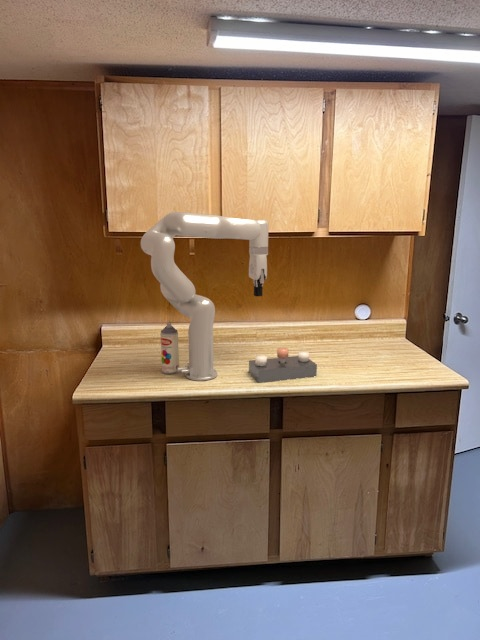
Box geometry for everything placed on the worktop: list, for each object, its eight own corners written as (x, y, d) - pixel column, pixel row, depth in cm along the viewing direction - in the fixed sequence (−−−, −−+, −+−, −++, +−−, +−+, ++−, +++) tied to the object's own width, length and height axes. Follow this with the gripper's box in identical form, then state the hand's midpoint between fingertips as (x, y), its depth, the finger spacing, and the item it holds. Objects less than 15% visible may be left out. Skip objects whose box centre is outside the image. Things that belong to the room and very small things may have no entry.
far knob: (300, 374, 183) (300, 354, 182) (295, 370, 188) (296, 351, 186) (310, 373, 185) (311, 354, 183) (305, 369, 189) (306, 350, 187)
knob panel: (258, 382, 175) (258, 370, 173) (248, 372, 186) (248, 360, 185) (316, 376, 181) (316, 364, 180) (303, 366, 193) (304, 355, 191)
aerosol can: (158, 372, 185) (156, 324, 181) (169, 367, 191) (167, 320, 186) (172, 375, 182) (170, 326, 177) (182, 370, 188) (181, 322, 183)
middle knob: (279, 370, 180) (279, 351, 178) (275, 367, 184) (275, 348, 183) (289, 369, 182) (290, 350, 180) (285, 366, 186) (285, 347, 184)
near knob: (257, 378, 178) (257, 359, 176) (253, 374, 182) (253, 355, 181) (268, 377, 180) (268, 358, 178) (264, 373, 184) (264, 354, 182)
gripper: (244, 249, 192) (243, 293, 196) (255, 253, 178) (255, 299, 182) (261, 249, 194) (260, 292, 198) (274, 252, 180) (273, 298, 184)
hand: (258, 295), depth 190 cm, fingers closed
